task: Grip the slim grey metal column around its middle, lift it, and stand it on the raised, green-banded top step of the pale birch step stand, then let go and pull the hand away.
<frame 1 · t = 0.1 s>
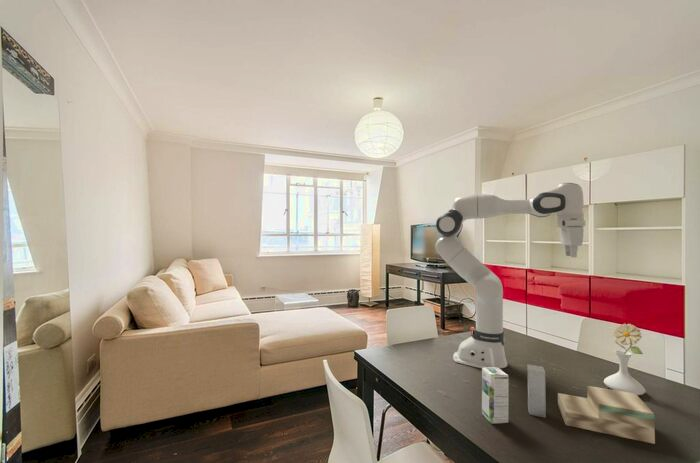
hand: (570, 256, 125), 48 cm above the table, fingers open, 8 cm apart
flower in vase: (626, 392, 111), on the table
syrup box: (495, 418, 95), on the table
grey column: (536, 412, 98), on the table
step stand: (601, 422, 93), on the table
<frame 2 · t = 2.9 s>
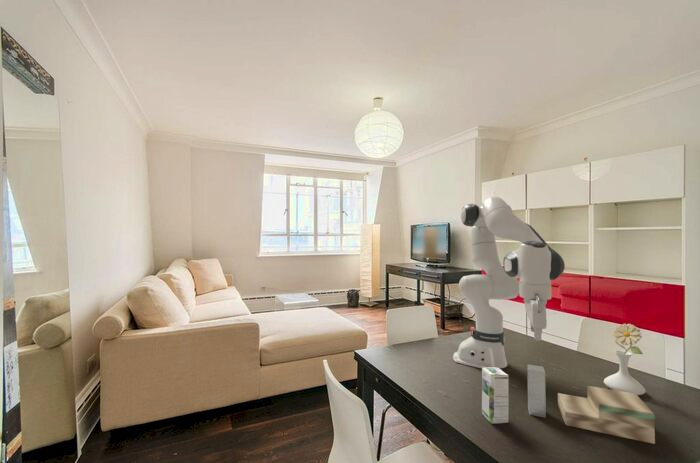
hand: (535, 335, 98), 24 cm above the table, fingers open, 8 cm apart
nothing on the table moved.
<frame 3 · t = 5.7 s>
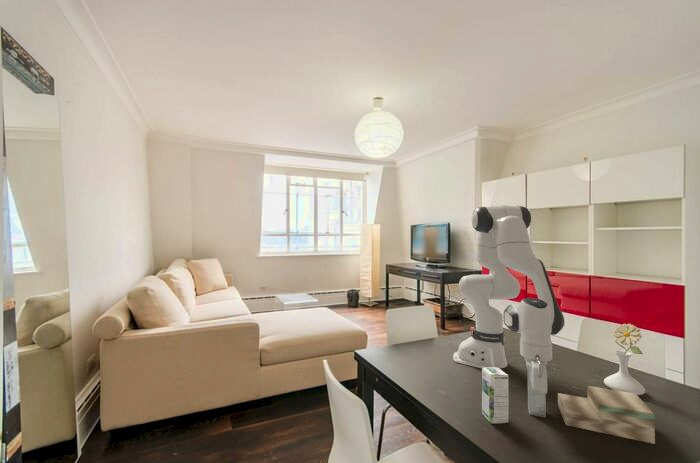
hand: (536, 394, 98), 6 cm above the table, fingers closed on grey column, 4 cm apart
grey column: (536, 412, 98), on the table, touching gripper
everything else where it was.
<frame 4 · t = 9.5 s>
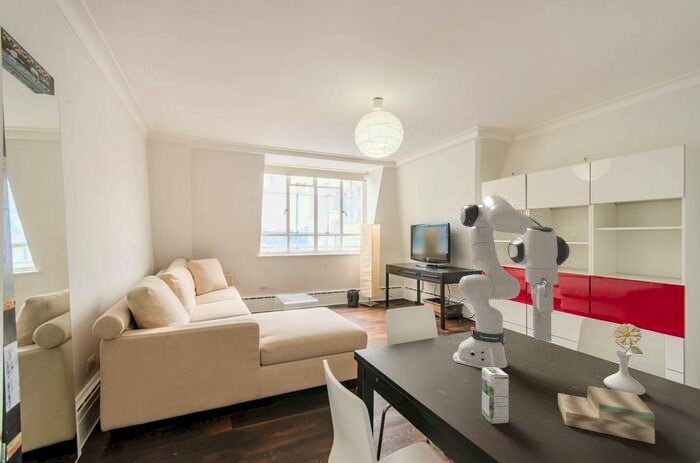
hand: (541, 320, 98), 29 cm above the table, fingers closed on grey column, 4 cm apart
grey column: (542, 338, 98), point 24 cm above the table, touching gripper
everything else where it was.
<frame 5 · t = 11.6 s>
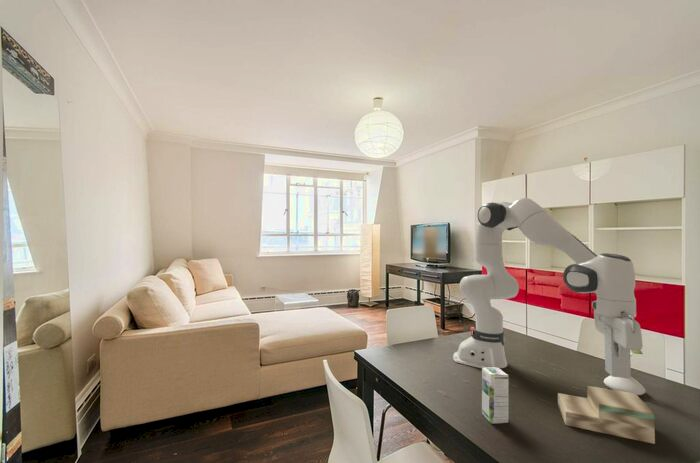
hand: (617, 355, 91), 21 cm above the table, fingers closed on grey column, 4 cm apart
grey column: (617, 374, 91), point 15 cm above the table, touching gripper
everything else where it was.
when the fingers open (15 cm above the table, at t = 13.5 s): grey column drops 1 cm, resting on step stand.
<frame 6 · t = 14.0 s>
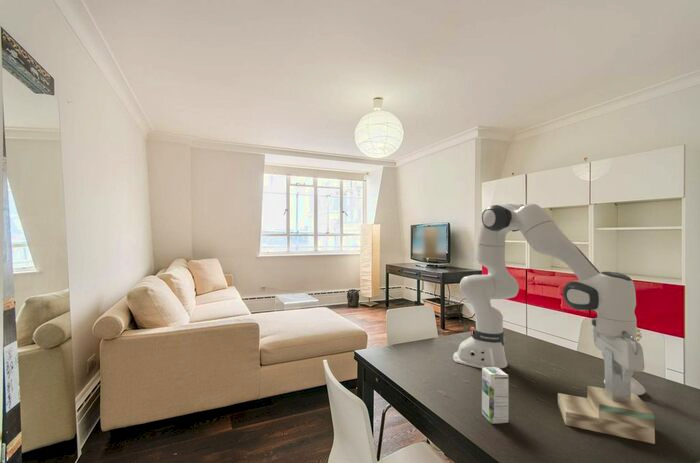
hand: (617, 374, 91), 15 cm above the table, fingers open, 8 cm apart
grey column: (617, 398, 91), point 8 cm above the table, touching step stand
everything else where it was.
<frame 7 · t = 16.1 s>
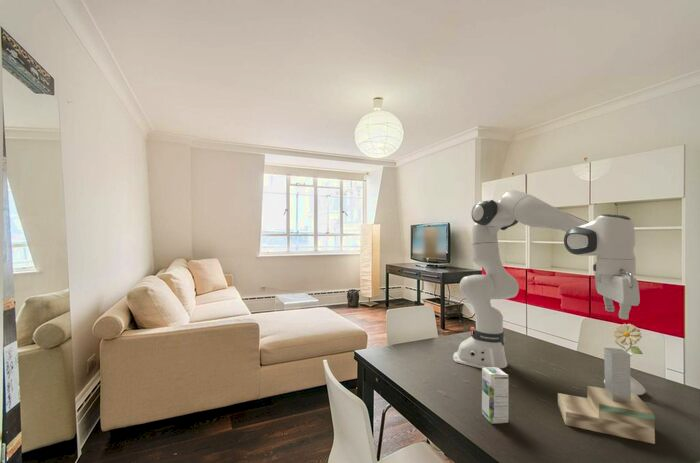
hand: (616, 314, 92), 33 cm above the table, fingers open, 8 cm apart
nothing on the table moved.
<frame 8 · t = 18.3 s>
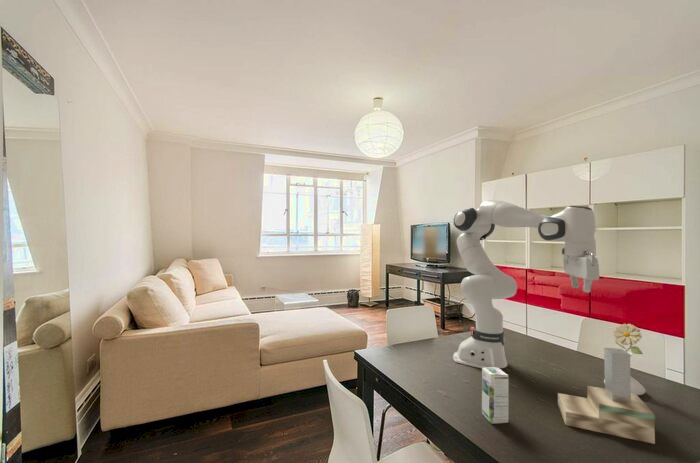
hand: (580, 289, 109), 37 cm above the table, fingers open, 8 cm apart
nothing on the table moved.
at the end: grey column inside the target area (0.0 cm from its centre), point 8.0 cm above the table; grey column tilted 0°; the gripper is holding nothing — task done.
